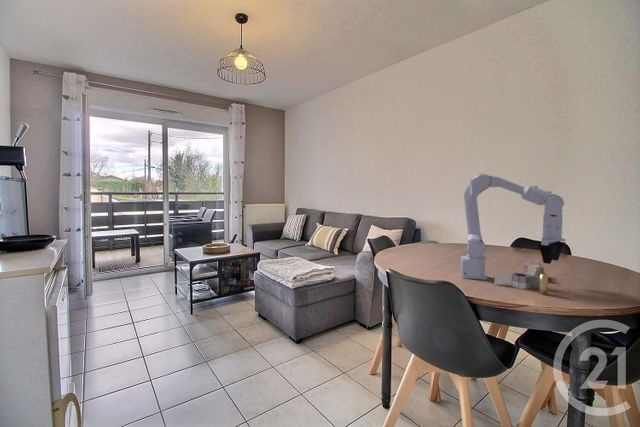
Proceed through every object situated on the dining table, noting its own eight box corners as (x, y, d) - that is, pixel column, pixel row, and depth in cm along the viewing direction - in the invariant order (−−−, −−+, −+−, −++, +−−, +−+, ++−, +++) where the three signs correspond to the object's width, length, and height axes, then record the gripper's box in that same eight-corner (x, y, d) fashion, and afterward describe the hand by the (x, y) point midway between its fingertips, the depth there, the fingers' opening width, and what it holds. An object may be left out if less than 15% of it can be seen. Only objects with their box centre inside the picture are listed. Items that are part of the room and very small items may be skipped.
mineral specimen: (553, 282, 121) (554, 267, 121) (534, 281, 122) (534, 266, 122) (536, 273, 134) (536, 259, 133) (518, 273, 135) (519, 259, 134)
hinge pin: (540, 294, 107) (540, 275, 107) (538, 292, 109) (538, 273, 109) (548, 295, 106) (549, 275, 106) (546, 293, 109) (546, 274, 108)
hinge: (495, 286, 117) (496, 275, 116) (493, 282, 122) (493, 271, 122) (549, 291, 111) (550, 279, 110) (544, 286, 116) (545, 274, 116)
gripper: (558, 229, 106) (556, 266, 107) (572, 225, 114) (570, 260, 115) (535, 227, 112) (533, 263, 113) (549, 224, 120) (548, 257, 121)
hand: (550, 261), depth 115 cm, fingers open, 7 cm apart
